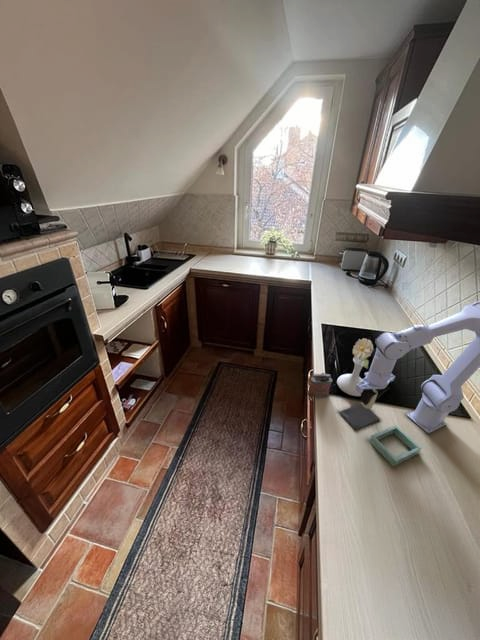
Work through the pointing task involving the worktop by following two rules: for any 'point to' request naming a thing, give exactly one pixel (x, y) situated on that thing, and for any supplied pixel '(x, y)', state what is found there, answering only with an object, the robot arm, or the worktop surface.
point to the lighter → (319, 385)
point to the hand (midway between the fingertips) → (368, 400)
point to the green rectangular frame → (386, 453)
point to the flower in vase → (356, 367)
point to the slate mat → (359, 416)
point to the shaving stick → (370, 401)
